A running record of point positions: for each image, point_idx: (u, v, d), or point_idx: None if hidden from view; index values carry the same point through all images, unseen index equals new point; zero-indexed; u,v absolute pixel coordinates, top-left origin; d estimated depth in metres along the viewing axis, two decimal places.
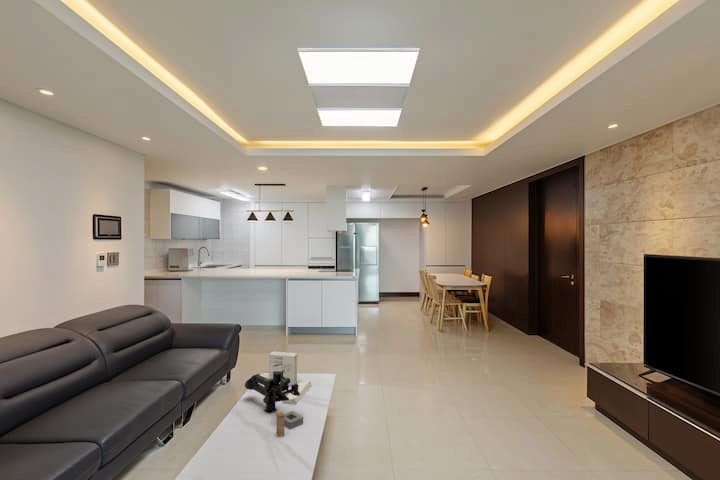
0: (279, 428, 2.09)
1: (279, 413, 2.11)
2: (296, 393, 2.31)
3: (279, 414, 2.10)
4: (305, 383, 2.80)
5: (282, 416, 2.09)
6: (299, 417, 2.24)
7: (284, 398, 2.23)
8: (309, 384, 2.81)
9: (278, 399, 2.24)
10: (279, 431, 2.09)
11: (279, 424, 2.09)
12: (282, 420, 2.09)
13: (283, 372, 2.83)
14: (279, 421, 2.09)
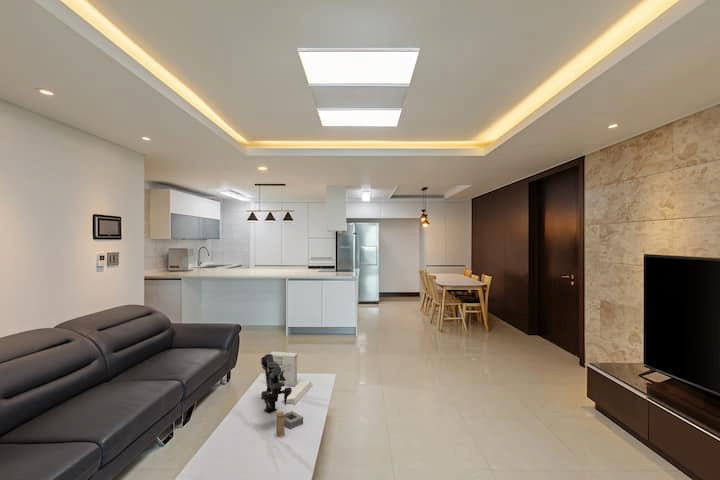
0: (279, 428, 2.09)
1: (279, 413, 2.11)
2: (284, 400, 2.23)
3: (279, 414, 2.10)
4: (306, 383, 2.80)
5: (282, 416, 2.09)
6: (299, 417, 2.24)
7: (268, 403, 2.18)
8: (310, 384, 2.81)
9: (264, 399, 2.21)
10: (279, 431, 2.09)
11: (279, 424, 2.09)
12: (282, 420, 2.09)
13: (283, 372, 2.83)
14: (279, 421, 2.09)
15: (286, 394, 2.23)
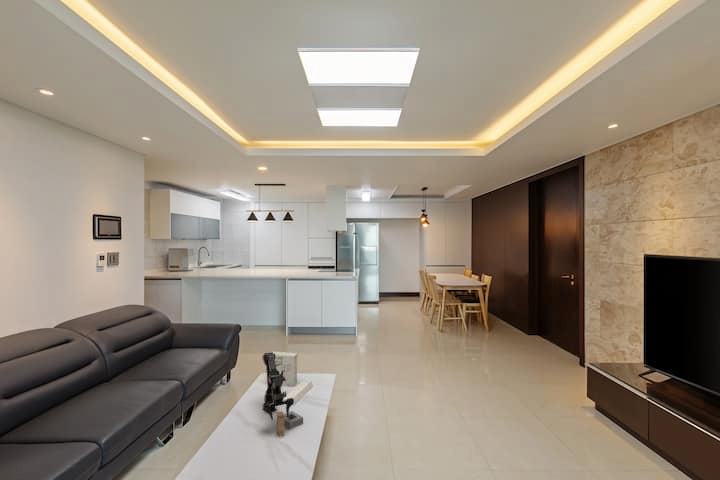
0: (279, 428, 2.09)
1: (279, 413, 2.11)
2: (286, 411, 2.17)
3: (279, 414, 2.10)
4: (306, 383, 2.79)
5: (282, 416, 2.09)
6: (299, 417, 2.24)
7: (270, 415, 2.12)
8: (310, 384, 2.80)
9: (266, 410, 2.15)
10: (279, 431, 2.09)
11: (279, 424, 2.09)
12: (282, 420, 2.09)
13: (283, 372, 2.83)
14: (279, 421, 2.09)
15: (288, 405, 2.18)
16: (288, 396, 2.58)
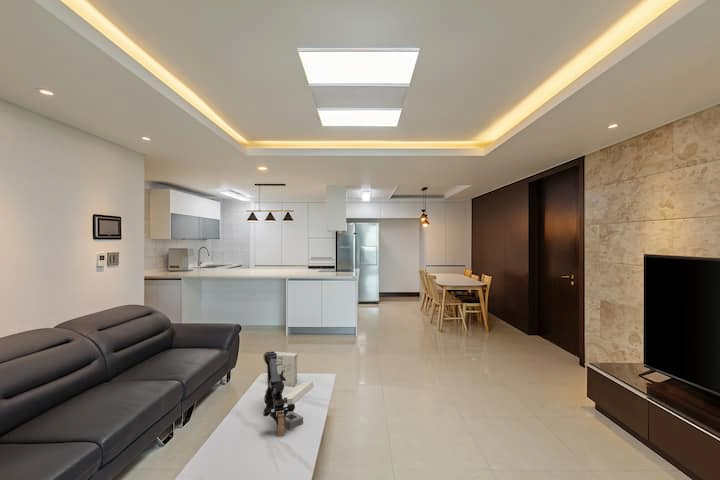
0: (279, 428, 2.09)
1: (279, 413, 2.11)
2: None
3: (279, 414, 2.10)
4: (307, 384, 2.79)
5: (282, 416, 2.09)
6: (299, 417, 2.24)
7: (275, 420, 2.11)
8: (311, 385, 2.80)
9: (271, 415, 2.13)
10: (279, 431, 2.09)
11: (279, 424, 2.09)
12: (282, 420, 2.09)
13: (283, 372, 2.83)
14: (279, 421, 2.09)
15: (285, 412, 2.14)
16: (287, 396, 2.58)
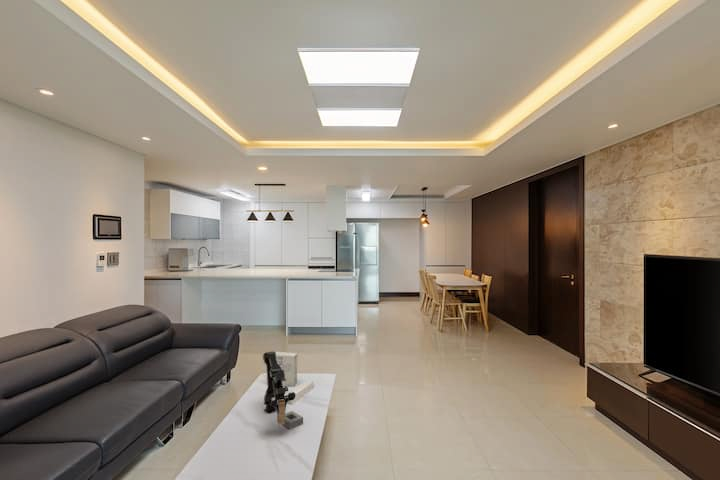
0: (280, 416, 2.09)
1: (280, 401, 2.12)
2: None
3: (280, 402, 2.11)
4: (307, 384, 2.78)
5: (283, 404, 2.10)
6: (299, 417, 2.24)
7: (276, 408, 2.11)
8: (311, 385, 2.79)
9: (271, 404, 2.14)
10: (280, 419, 2.09)
11: (280, 412, 2.09)
12: (283, 408, 2.10)
13: None
14: (280, 409, 2.09)
15: (285, 400, 2.14)
16: None
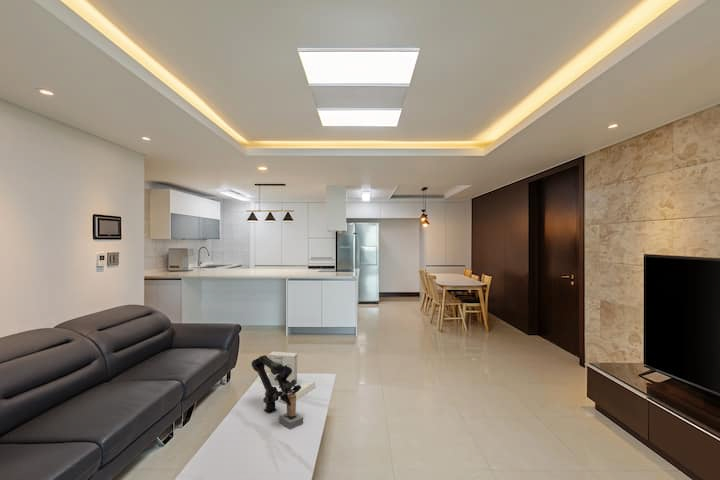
0: (292, 408, 2.22)
1: (290, 394, 2.25)
2: None
3: (291, 395, 2.24)
4: (308, 384, 2.78)
5: (294, 396, 2.24)
6: (299, 417, 2.24)
7: (286, 402, 2.23)
8: (312, 385, 2.78)
9: (281, 398, 2.24)
10: (292, 411, 2.22)
11: (292, 404, 2.22)
12: (294, 400, 2.24)
13: None
14: (292, 401, 2.22)
15: (294, 393, 2.28)
16: None
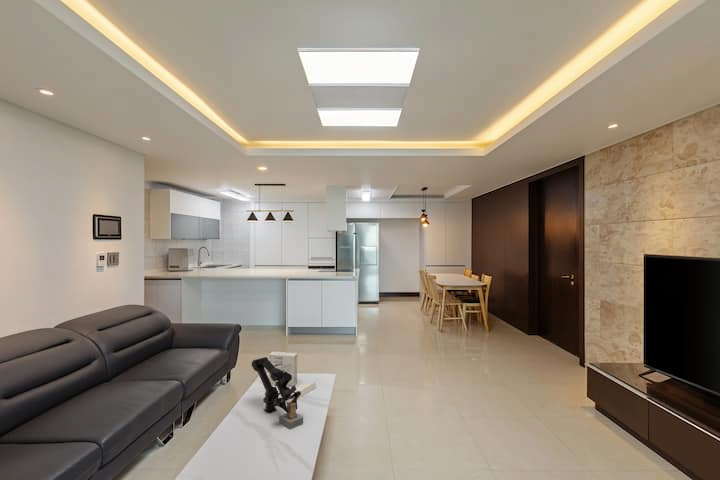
0: (292, 417, 2.22)
1: (290, 403, 2.25)
2: None
3: (291, 404, 2.24)
4: (309, 384, 2.77)
5: (294, 405, 2.24)
6: (299, 417, 2.24)
7: (285, 409, 2.22)
8: (313, 386, 2.78)
9: (279, 405, 2.23)
10: None
11: (292, 413, 2.22)
12: (294, 409, 2.24)
13: (283, 372, 2.83)
14: (292, 410, 2.22)
15: (296, 398, 2.29)
16: None
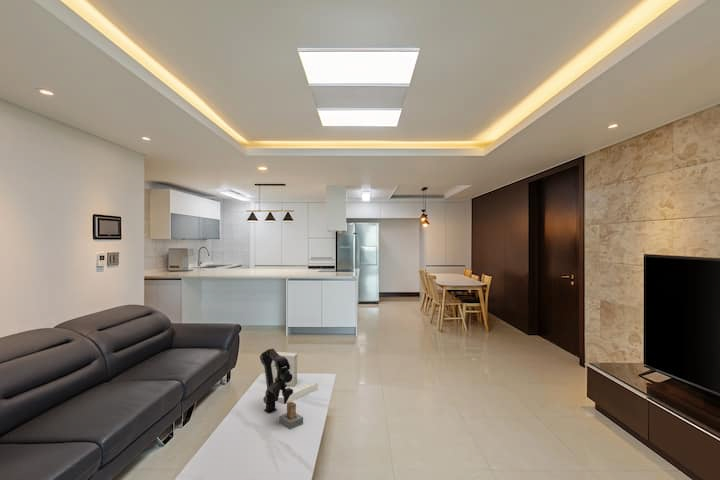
0: (292, 417, 2.22)
1: (290, 403, 2.25)
2: None
3: (291, 404, 2.24)
4: (310, 385, 2.76)
5: (294, 405, 2.24)
6: (299, 417, 2.24)
7: None
8: (314, 387, 2.75)
9: None
10: None
11: (292, 413, 2.22)
12: (294, 409, 2.24)
13: None
14: (292, 410, 2.22)
15: (283, 396, 2.23)
16: None
